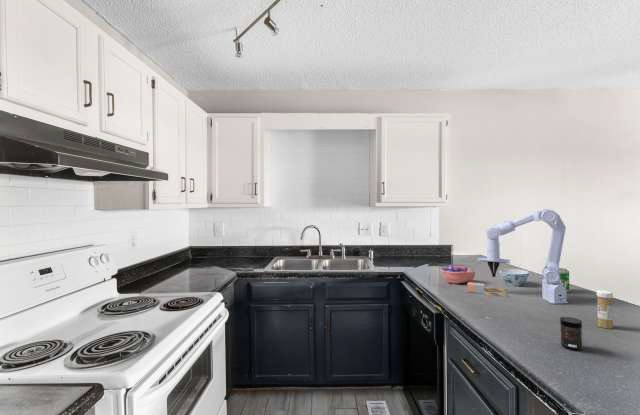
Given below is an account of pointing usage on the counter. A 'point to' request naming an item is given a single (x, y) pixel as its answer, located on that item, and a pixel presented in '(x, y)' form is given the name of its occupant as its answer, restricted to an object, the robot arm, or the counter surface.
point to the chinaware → (514, 276)
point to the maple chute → (494, 292)
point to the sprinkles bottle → (605, 309)
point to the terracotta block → (471, 287)
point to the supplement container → (571, 333)
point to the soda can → (564, 278)
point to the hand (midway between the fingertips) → (493, 276)
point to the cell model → (457, 274)
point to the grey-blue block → (480, 288)
